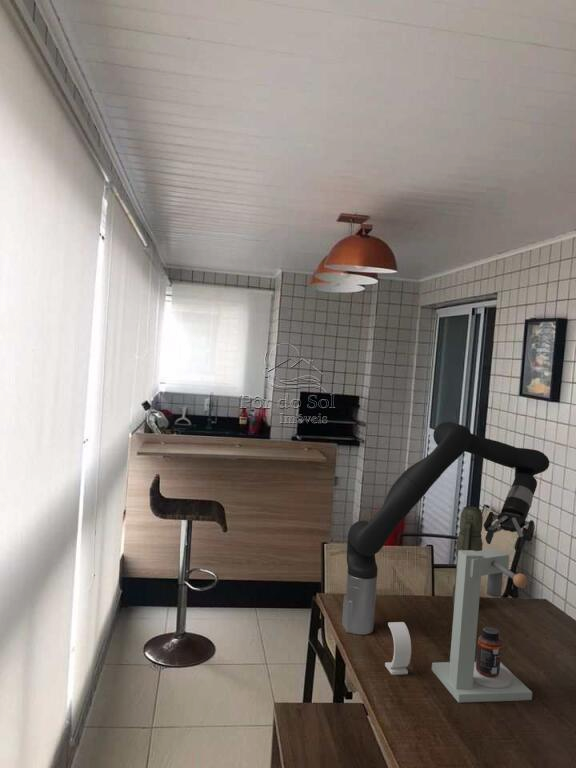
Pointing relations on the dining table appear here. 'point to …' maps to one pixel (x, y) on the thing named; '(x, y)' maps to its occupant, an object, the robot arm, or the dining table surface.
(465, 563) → the press
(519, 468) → the robot arm
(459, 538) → the thermos
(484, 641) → the supplement bottle
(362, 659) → the dining table surface
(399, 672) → the headphone stand
